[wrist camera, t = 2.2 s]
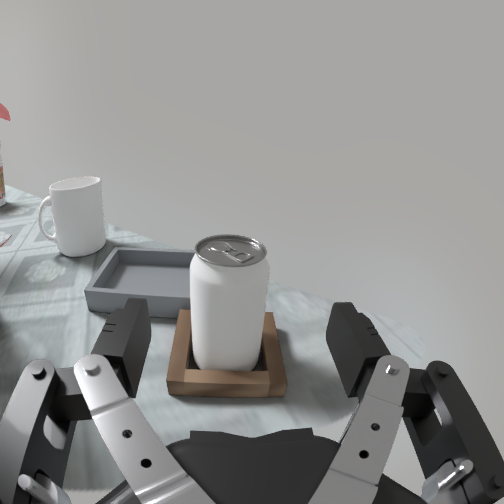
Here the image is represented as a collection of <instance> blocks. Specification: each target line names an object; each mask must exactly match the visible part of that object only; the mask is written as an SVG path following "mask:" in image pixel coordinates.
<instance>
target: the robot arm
mask: <svg viewBox="0 0 504 504" xmlns="http://www.w3.org/2000/svg"><path fill="white" fill-rule="evenodd" d="M150 341H151V324H150V317H149V310H148V304H147V300H146V299H145V298H128V300H127V302H126V304H125V306H124V308H123V309H121V308H117V309H116V310H115V311H113V312H112V313H111V314H110V315H109V316H108V318H107V320H106V323H105V325H104V327H103V329H102V332H101V333H100V335H99V337H98V339H97V341H96V343H95V345H94V348H93V350H92V352H91V354H90V355H87V356H84V357H82V358H81V359H79V360H78V361H77V362H76V364H75V366H74V367H71V368H61V369H55V368H54V365H53V364H52V363H51V362H50V361H49V360H46V359H37V360H34V361H32V362H30V363H29V364H28V365H27V366H26V367H25V369H24V371H23V373H22V375H21V377H20V379H19V381H18V383H17V385H16V387H15V389H14V391H13V394H12V396H11V398H10V400H9V402H8V405H7V407H6V409H5V412H4V414H3V417H2V419H1V421H0V504H71V501H70V498H69V496H68V495H67V494H66V493H65V492H64V491H63V490H62V486H63V480H64V475H65V470H66V465H67V461H68V456H69V452H70V447H71V443H72V439H73V435H74V431H75V427H76V424H77V420H89V419H93V420H94V422H95V424H96V426H97V428H98V430H99V432H100V434H101V436H102V438H103V440H104V442H105V444H106V446H107V447H108V449H109V451H110V453H111V455H112V457H113V458H114V460H115V462H116V463H117V465H118V467H119V469H120V470H121V472H122V474H123V475H124V477H125V478H126V480H125V481H123V482H122V483H121V484H120V485H119V486H117V487H116V488H115V489H114V490H112V491H111V492H110V493H109V494H107V495H106V496H105V497H104V498H102V499H101V500H100V501H98V502H97V503H96V504H493V503H495V502H496V501H498V500H499V499H501V498H502V497H504V461H503V459H502V456H501V454H500V452H499V450H498V448H497V446H496V444H495V442H494V440H493V438H492V436H491V434H490V432H489V430H488V428H487V426H486V425H485V423H484V421H483V419H482V417H481V415H480V414H479V412H478V410H477V408H476V406H475V405H474V403H473V401H472V400H471V398H470V396H469V394H468V392H467V391H466V389H465V387H464V386H463V384H462V382H461V381H460V379H459V378H458V376H457V374H456V373H455V371H454V369H453V368H452V367H451V366H450V365H448V364H447V363H445V362H442V361H433V362H431V363H429V365H428V366H427V368H426V370H422V369H413V368H409V366H408V364H407V363H406V362H405V361H404V360H403V359H401V358H399V357H397V356H393V355H391V354H390V352H389V350H388V349H387V347H386V345H385V343H384V342H383V340H382V338H381V337H380V335H378V332H377V330H376V329H375V327H374V325H373V324H372V322H371V320H370V319H369V318H368V317H366V316H365V315H364V314H363V313H358V312H357V310H356V309H355V307H354V305H353V304H352V303H351V302H336V303H334V304H333V307H332V310H331V314H330V318H329V322H328V326H327V330H326V341H327V345H328V347H329V350H330V352H331V355H332V357H333V360H334V363H335V365H336V368H337V370H338V373H339V375H340V378H341V381H342V383H343V386H344V389H345V391H346V394H347V397H348V398H351V397H358V399H359V402H358V404H357V406H356V408H355V410H354V412H353V414H352V416H351V418H350V421H349V422H348V424H347V427H346V428H345V430H344V433H343V434H342V436H341V438H340V440H339V442H338V443H337V442H336V441H333V440H331V439H328V438H325V437H320V436H314V435H313V431H312V428H303V429H291V430H282V431H278V432H275V433H271V434H267V435H264V436H260V437H256V438H249V437H243V436H238V435H233V434H229V433H224V432H211V431H190V439H184V440H180V441H177V442H174V443H172V444H170V445H168V446H166V447H165V445H164V444H163V443H162V441H161V440H160V439H159V437H158V436H157V434H156V433H155V432H154V430H153V429H152V427H151V426H150V424H149V423H148V422H147V420H146V419H145V417H144V416H143V414H142V413H141V411H140V409H139V408H138V406H137V405H136V403H135V402H134V400H133V399H132V398H136V394H137V390H138V386H139V382H140V378H141V374H142V370H143V366H144V363H145V359H146V355H147V352H148V348H149V344H150ZM435 408H436V409H437V411H438V413H439V415H440V418H441V421H442V426H441V424H440V422H439V420H438V418H437V416H436V414H435V412H434V409H435ZM401 417H403V420H404V422H405V425H406V428H407V430H408V433H409V435H410V438H411V440H412V443H413V446H414V449H415V451H416V454H417V457H418V459H419V462H420V465H421V468H422V471H423V473H424V476H425V479H426V481H425V482H424V484H423V487H422V495H421V497H419V496H418V495H416V494H414V493H413V492H411V491H410V490H408V489H406V488H405V487H403V486H401V485H400V484H398V483H397V482H395V481H393V480H392V479H390V478H389V477H387V476H385V475H384V474H383V473H382V472H383V469H384V467H385V465H386V462H387V459H388V457H389V454H390V451H391V448H392V445H393V442H394V439H395V436H396V433H397V430H398V427H399V424H400V421H401Z"/></svg>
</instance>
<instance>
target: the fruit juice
mask: <svg viewBox="0 0 504 504" xmlns="http://www.w3.org/2000/svg"><path fill="white" fill-rule="evenodd" d="M0 147H1V144H0ZM5 203H6V195H5V187H4V178H3V168H2V158H1V156H0V207H1V206H3V205H4V204H5Z"/></svg>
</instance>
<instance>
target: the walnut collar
mask: <svg viewBox="0 0 504 504" xmlns="http://www.w3.org/2000/svg"><path fill="white" fill-rule="evenodd" d="M191 343H192V325H191V310H182V309H180V311H179V316H178V320H177V325H176V330H175V335H174V341H173V346H172V351H171V356H170V362H169V368H168V373H167V379H166V382H167V387H168V392H169V394H172V395H185V396H202V397H284V394H285V390H286V387H287V379H286V374H285V369H284V364H283V359H282V355H281V350H280V345H279V340H278V335H277V331H276V326H275V321H274V316H273V312H265V315H264V323H263V330H262V338H261V345H260V348H261V355H262V363H263V370H264V371H219V370H195V369H188V368H189V360H190V351H191Z"/></svg>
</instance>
